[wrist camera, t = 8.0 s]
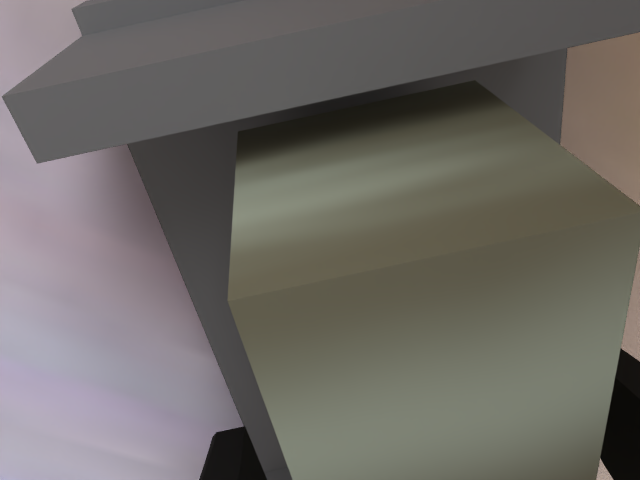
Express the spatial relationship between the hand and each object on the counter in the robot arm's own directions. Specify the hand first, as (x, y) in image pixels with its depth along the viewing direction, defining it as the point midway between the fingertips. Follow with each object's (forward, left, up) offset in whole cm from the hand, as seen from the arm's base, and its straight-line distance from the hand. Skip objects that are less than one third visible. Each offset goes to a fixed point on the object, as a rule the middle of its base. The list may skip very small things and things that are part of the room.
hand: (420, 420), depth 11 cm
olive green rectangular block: (0, 0, -2) cm, 2 cm away
